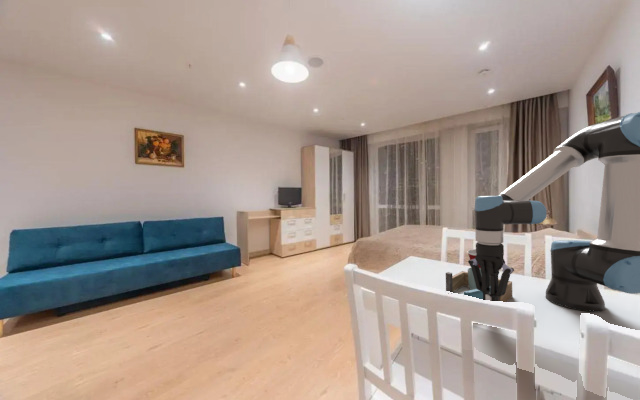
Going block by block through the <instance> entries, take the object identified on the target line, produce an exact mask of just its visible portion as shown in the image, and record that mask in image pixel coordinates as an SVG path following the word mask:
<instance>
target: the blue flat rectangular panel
mask: <svg viewBox="0 0 640 400" xmlns="http://www.w3.org/2000/svg"><path fill="white" fill-rule="evenodd" d="M489 293H490V292H489ZM464 295H468V296H472V297H476V298H479V299H483V293H482V291H480V290H478V289H474V290H470V289H469V290H465V291H463V296H464Z"/></svg>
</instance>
